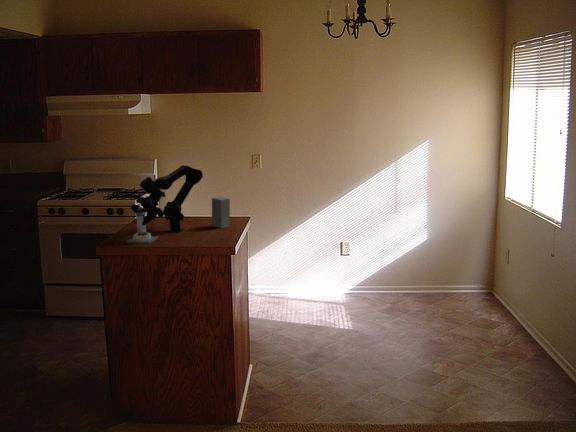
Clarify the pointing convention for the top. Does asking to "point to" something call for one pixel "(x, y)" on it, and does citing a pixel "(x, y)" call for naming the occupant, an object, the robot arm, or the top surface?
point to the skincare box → (220, 212)
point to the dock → (142, 239)
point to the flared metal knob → (140, 223)
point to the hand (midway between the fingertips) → (139, 224)
